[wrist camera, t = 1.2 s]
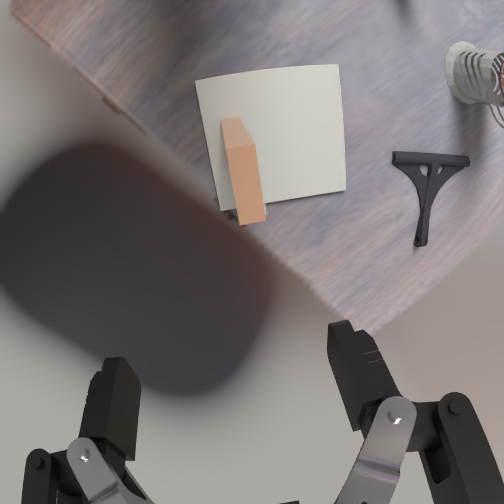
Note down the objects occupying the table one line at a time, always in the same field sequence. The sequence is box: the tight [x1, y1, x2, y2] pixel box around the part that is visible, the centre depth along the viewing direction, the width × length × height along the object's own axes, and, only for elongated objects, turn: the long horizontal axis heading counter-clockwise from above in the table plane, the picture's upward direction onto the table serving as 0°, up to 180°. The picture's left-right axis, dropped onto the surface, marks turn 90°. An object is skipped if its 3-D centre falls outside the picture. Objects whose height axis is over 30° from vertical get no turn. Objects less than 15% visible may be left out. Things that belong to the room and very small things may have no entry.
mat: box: [195, 64, 346, 211], centre depth 34 cm, size 16×16×1 cm
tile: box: [221, 117, 267, 225], centre depth 28 cm, size 6×2×14 cm, turn 9°
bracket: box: [392, 151, 470, 247], centre depth 41 cm, size 14×15×3 cm
